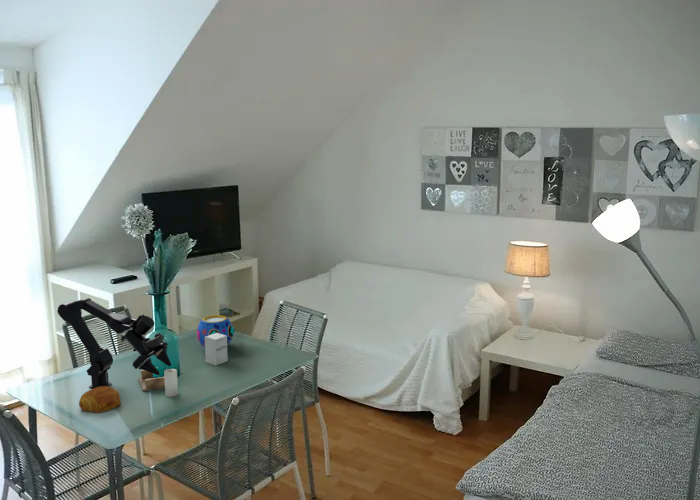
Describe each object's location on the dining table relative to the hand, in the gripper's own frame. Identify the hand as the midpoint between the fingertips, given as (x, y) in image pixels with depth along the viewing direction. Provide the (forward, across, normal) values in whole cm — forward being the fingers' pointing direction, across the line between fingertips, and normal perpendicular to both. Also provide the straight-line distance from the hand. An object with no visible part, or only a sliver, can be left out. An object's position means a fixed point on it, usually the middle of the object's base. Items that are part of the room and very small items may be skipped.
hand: (164, 369), depth 257 cm
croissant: (-6, -16, +21) cm, 27 cm away
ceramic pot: (+5, +54, +10) cm, 55 cm away
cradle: (0, +8, +14) cm, 16 cm away
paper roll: (+9, 0, +6) cm, 11 cm away
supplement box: (+11, +37, +4) cm, 39 cm away
